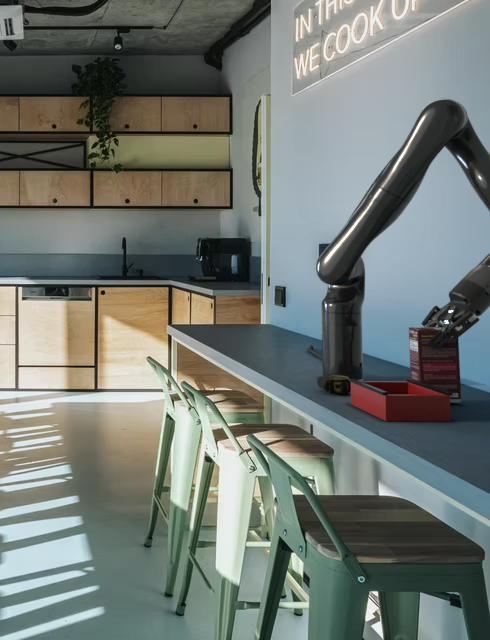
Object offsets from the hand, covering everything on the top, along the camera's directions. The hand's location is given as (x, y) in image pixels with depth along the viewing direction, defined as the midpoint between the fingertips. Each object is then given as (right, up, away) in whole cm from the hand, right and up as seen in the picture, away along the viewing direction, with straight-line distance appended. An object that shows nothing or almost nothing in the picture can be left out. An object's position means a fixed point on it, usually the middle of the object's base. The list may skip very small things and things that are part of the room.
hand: (424, 345), depth 160 cm
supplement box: (+2, -12, -1) cm, 13 cm away
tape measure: (-16, -13, +9) cm, 22 cm away
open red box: (-11, -12, -10) cm, 20 cm away
